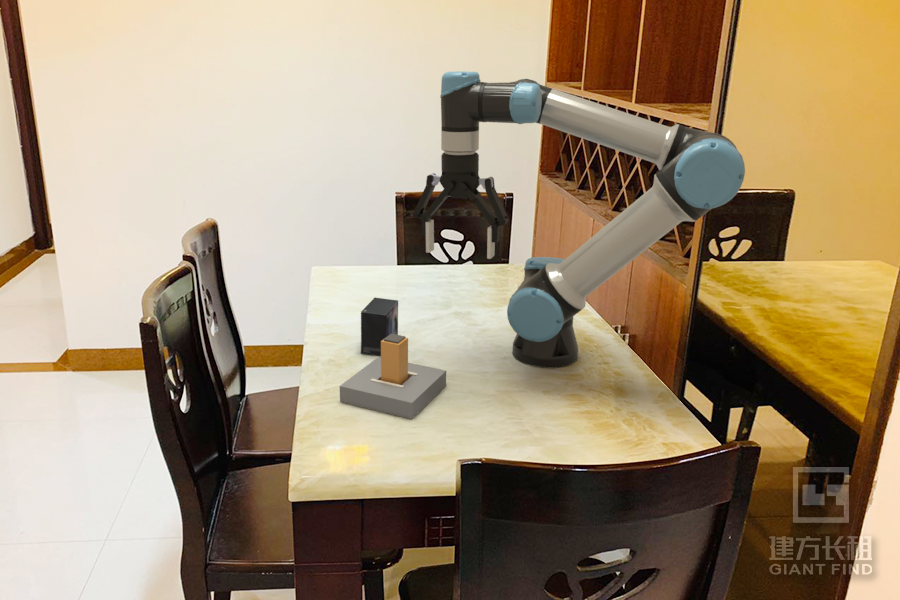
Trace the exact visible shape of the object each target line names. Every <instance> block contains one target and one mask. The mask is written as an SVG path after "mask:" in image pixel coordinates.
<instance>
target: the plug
mask: <svg viewBox="0 0 900 600" xmlns="http://www.w3.org/2000/svg"><path fill="white" fill-rule="evenodd" d="M380 357H381V381H385V382H390V383H394V384H399V385H402V384H403V383H404V382H406V381H407V380H408V363H409V337H406V336H405V335H399V334H398V335H396V334H390V335H389V336H387V337H386V338H384V339H383V340H382V341H381V356H380Z"/></svg>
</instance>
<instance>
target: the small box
mask: <svg viewBox="0 0 900 600" xmlns="http://www.w3.org/2000/svg"><path fill="white" fill-rule="evenodd" d="M390 334H396V335H399V300H397V299H389V298H383V297H381V298H380V297H374V298H373V299H372V300H371V301H370V302H368V304H367V305H366V306H365V307H364V308H363V309H362V310H361V311H360V354H362V355H371V356H377V357H379V356H380V357H381V341H382V340H383V339H384V338H386V337H387V336H389V335H390Z"/></svg>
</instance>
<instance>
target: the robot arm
mask: <svg viewBox="0 0 900 600" xmlns="http://www.w3.org/2000/svg"><path fill="white" fill-rule="evenodd" d="M440 84H441V87H440V88H441V89H440V95H439V97H440V112H441V113H440V115H441V119H440V120H441V121H440V122H441V130H440V131H441V132H440V133H441V134H440V136H441V137H440V138H441V139H440V140H441V141H440V142H441V144H440V145H441V147H440V148H441V151H442V153H441V156H440V158H441V175H437V174H436V173H430V174H428V175H427V176H426V181H425V182H426V185H425V187H424V189H423V192H422V193H421V196H420V198H419V200H418V203H417V204H416V206H415V208H414V210H413V213H412V217H413V218H415V219H419V220H420V221H421V235H422V237H425V253H427V254H428V253H429V254H430V253H431V252H433V251H435V230H434V229H435V222H434V221H435V220H434V219H431V218H432V217H433V215H434V214H435V213H436V212H437V210H438V209H439V208H440V207H441V205H443V203H444V202H445V201H446V200H447V199H448V198H451V199H457V198H458V199H461V200H467V199H468V200H470V201H471V202H472V203H474V205H475V206H476V208H477V209H478V210H479V212H480V213H481V215H482V216H483V217H484V218H485V220H486V221H487V222H488V223H489V226H488V227H487V231H486V232H487V233H486V234H487V239H486V241H487V242H486V246H487V248H486V249H487V250H486V252H487V253H486V259H488V260H491V259H492V258H493V257H495V253H496V252H495V250H496V249H495V248H496V247H495V246H496V245H495V244H496V243H498V242H499V241H500V227H501V226H504V225H506V224H507V223H509V217H508V214H507V212H506V210H505V208H504V206H503V203H502V201H501V199H500V197H499V194H498V192H497V190H496V188H495V179H494V177H493V176H489V177H486V178H480V175H479V169H480V168H479V165H480V164H479V162H480V161H479V160H480V159H479V158H480V155H479V153H478V150H479V148H480V147H479V145H480V144H479V143H480V142H479V141H480V123H501V124H502V123H504V124H517V125H524V124H539V125H543V126H546V127H548V128H551V129H554V130H557V131H560V132H563V133H565V134H568V135H571V136H574V137H578V138H581V139H583V140H587V141H590V142H592V143H596V144H598V145H601V146H603V147H606V148H609V149H613V150H615V151H617V152H621V153H624V154H626V155H630V156H633V157H635V158H638V159H641V160H644V161H648V162H650V163H653V164H655V165H656V166H657V168H658V171H657V172H656V173H655V174H654V175H653V177H654V178H653V184H652V187H650V188H649V189H648V190H646V192H644V193H643V194H642V195H641V196H640V197H638V198H637V199H636V200H634V201H633V202H632V203H631V204H630V205H629V206H628V207H626V208H625V209H624V210H623V211H621V212H620V213H619V214H618V215H617V216H615V217H614V218H613V219H612V220H611V221H609V222H608V223H607V224H606V225H605V226H603V227H602V228H601V229H600V230H598V231H597V232H596V233H595V234H594V235H592V236H591V237H590V238H589V239H588V240H587V241H585V242H584V243H582V244H581V245H580V246H579V247H578V248H576V250H574V251H573V252H572V253H571V254H569V255H568V256H567V257H566V258H559V257H554V256H553V257H551V256H549V257H548V256H537V257H535V256H534V257H530V258H528V259H526V261H525V263H524V264H525V265H524V268H523V270H524V276H523V277H524V278H523V281H522V282H521V283H520V284H519V286H518V287H517V288H516V289H517V290H516V291H515V292H514V293H512V294H511V297H510V298H509V302H508V304H507V305H508V306H507V308H506V309H507V310H506V311H507V312H506V315H507V320H508V323H509V325H510V327H511V328H512V330H513V331H514V332H515V333H516V335H515V337H514V339H513V342H512V349H511V350H512V351H511V353H512V355H513V357H514V358H515V359H516V360H518V361H520V362H521V363H524V364H527V365H529V366H533V367H539V368H547V369H549V368H551V369H552V368H554V369H555V368H564V367H567V366H570V365H572V364H574V363H575V362H577V361H578V357H579V345H578V341H577V338H576V334H575V328H574V316H576V315H577V314H579V312H581V311H582V310H583V309H585V307H586V304H587V302H586V301H587V298H588V296H589V295H590V294H592V293H593V292H594V291H595V290H596V289H598V288H599V287H600V286H602V285H603V284H605V283H606V282H607V281H608V280H609V279H611V278H612V277H613V276H615V275H616V274H617V273H619V272H620V271H621V270H622V269H624V267H626V266H627V265H629V264H630V263H631V262H632V261H634V260H635V259H636V258H637V257H639V256H640V255H641V254H642V253H644V252H645V251H646V250H648V249H649V248H650V247H651V246H653V245H654V244H655V243H657V241H659V240H660V239H661V238H663V237H664V236H665V235H667V234H668V233H670V232H671V231H673V229H675V227H677V226H678V225H680V224H681V223H683V222H694V223H695V222H696V221H698V220H699V219H700V218H702V217H703V216H704V215H705V214H707V213H708V212H710V211H711V210H712V209H717V208H718V207H721V206H723V205H725V204H727V203H728V202H730V201H731V200H733V198H734V197H735V196H737V194H738V192H739V191H740V189H741V188H742V185H743V182H744V179H745V174H746V167H745V161H744V158H743V154H741V153H740V151H739V150H738V148H737V146H736V145H735V144H734V142H733V141H732V140H730V139H729V138H728V137H727V136H725V135H722V134H720V133H716V132H711V131H705V130H700V129H696V128H692V127H688V126H684V125H682V124H679V123H677V124H674V125H672V126H668V125H664V124H661V123H658V122H655V121H652V120H649V119H647V118H643V117H640V116H637V115H635V114H631V113H628V112H625V111H622V110H619V109H616V108H612V107H609V106H607V105H605V104H600V103H597V102H595V101H592V100H588V99H586V98H583V97H580V96H576V95H573V94H570V93H568V92H565V91H562V90H559V89H555V88H551V87H549V86H547V85H546V86H545V85H543V84H540V83H538V82H537V81H536V80H535V79H534V80H533V79H530V78H521V79H519V80H518V79H517V80H515V81H510V82H484V81H481V79H480V74H479V72H477V71H465V70H464V71H461V70H460V71H459V70H458V71H447V72H444V73H443V74H442V76H441V83H440ZM439 183H440V186H442V188H443V190H442V191H441V192H440V193H439V194H438V196H437V198H436V199H435V200H434V201H433V202H432V203H431V205H430V206H429V207H428V208H427V210H425V209H426V207H427V205H428V203H429V201H430V200H431V196H432V194H433V192H434V190H435V187H436V186H438V185H439ZM480 185H481V186H482V188H483V190H485V193H486V196H487V198H488V201H489V203H490V205H491V207H492V208H491V207H490V206H489V205H488V203H487V201H485V199H484V198H483V197H482V193H481V192H480V191H479V190H478V188H479V186H480ZM424 211H425V212H424Z"/></svg>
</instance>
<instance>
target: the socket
mask: <svg viewBox="0 0 900 600" xmlns="http://www.w3.org/2000/svg"><path fill="white" fill-rule="evenodd" d="M446 386H447V370H445V369H440V368H437V367H431V366H427V365H421V364H417V363H412V362H408V380H407V381H406V382H404V383H403V384H402V385H399V384H394V383H390V382H385V381H381V356H377V357H376V358H375V359H374V360H372V361H371V362H370V363H368V364H367V365H366V366H364V367H363V368H361V369H360V370H359V371H357V372H356V373H355V374H354V375H352V376H351V377H349V378H348V379H346V380H345V381H344V382H343V383H341V384H340V385H339V402H340V403H343V404H348V405H352V406H355V407H360V408H363V409H368V410H372V411H376V412H380V413H385V414H389V415H393V416H397V417H401V418H405V419H409V420H413V419H414V418H415V417H416V415H418V414H419V413H420V412H421V411H422V410H423V409H424V408H425V407H426V406H427V405H428V404H429V403H430V402H431V401H433V399H434V398H435V397H436V396H437V395H438V394H439V393H440V392H441V391H442V390H443V389H444V388H446Z"/></svg>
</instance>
